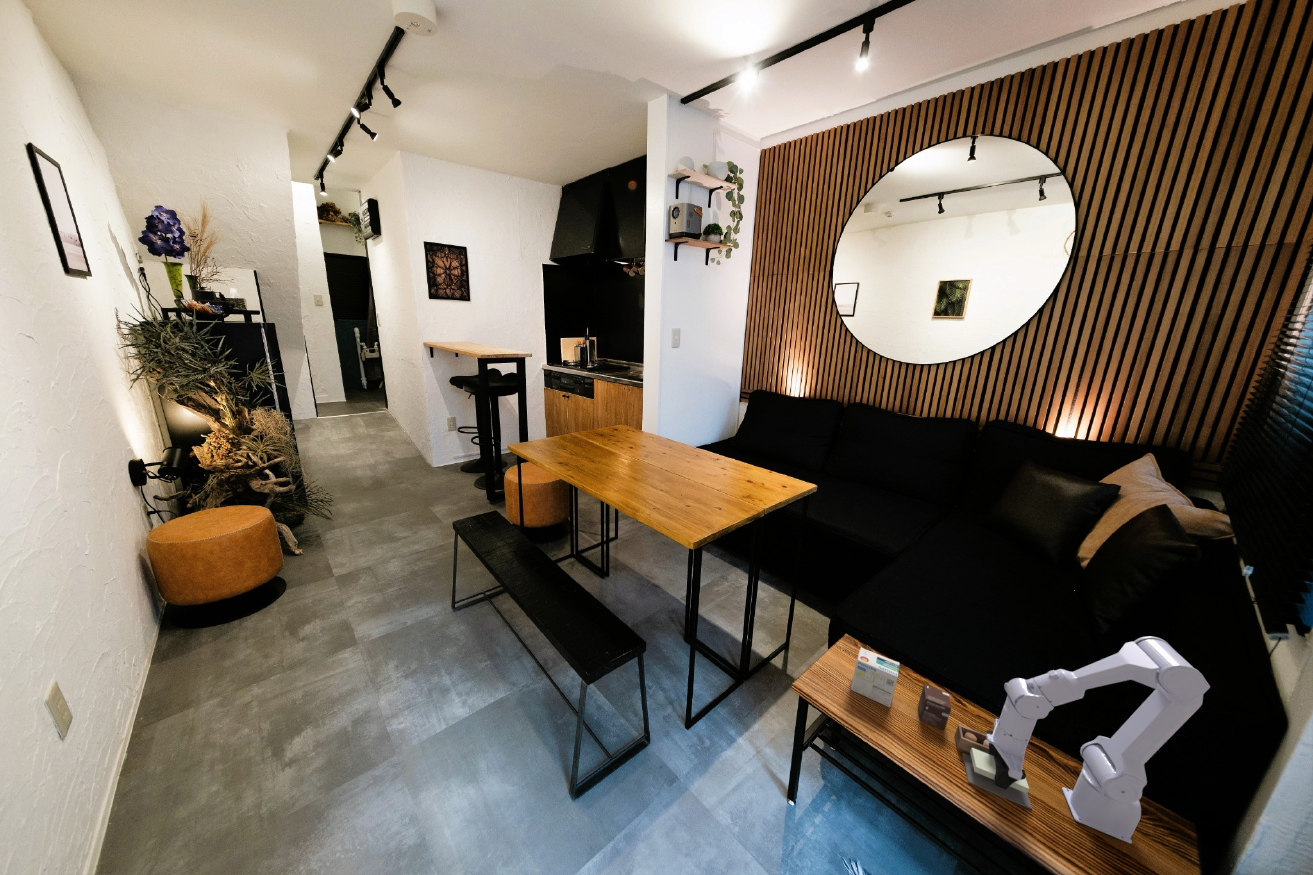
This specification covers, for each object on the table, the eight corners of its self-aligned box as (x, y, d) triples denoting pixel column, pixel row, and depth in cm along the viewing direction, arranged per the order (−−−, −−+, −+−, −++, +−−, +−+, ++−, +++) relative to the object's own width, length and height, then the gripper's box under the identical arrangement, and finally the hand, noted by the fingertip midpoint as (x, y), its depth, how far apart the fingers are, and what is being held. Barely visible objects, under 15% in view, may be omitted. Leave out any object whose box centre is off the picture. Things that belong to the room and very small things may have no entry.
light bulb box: (892, 692, 127) (900, 662, 124) (890, 708, 121) (899, 677, 118) (853, 675, 132) (860, 645, 129) (849, 690, 127) (856, 659, 124)
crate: (996, 752, 111) (1000, 740, 110) (1000, 767, 107) (1005, 755, 106) (954, 736, 114) (958, 724, 113) (957, 750, 110) (961, 738, 109)
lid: (1020, 772, 103) (1022, 767, 103) (1027, 793, 99) (1029, 788, 98) (970, 752, 107) (971, 747, 107) (974, 771, 103) (976, 766, 102)
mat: (1021, 777, 105) (1021, 776, 105) (1031, 809, 98) (1032, 808, 98) (962, 754, 110) (962, 752, 109) (968, 782, 103) (968, 781, 102)
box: (918, 720, 118) (925, 698, 116) (917, 703, 124) (923, 682, 122) (944, 730, 116) (951, 708, 114) (942, 713, 121) (949, 692, 119)
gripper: (985, 698, 108) (971, 741, 111) (1000, 747, 95) (983, 793, 98) (1021, 711, 105) (1004, 754, 108) (1041, 763, 92) (1022, 810, 96)
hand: (997, 774), depth 103 cm, fingers closed on lid, 5 cm apart
